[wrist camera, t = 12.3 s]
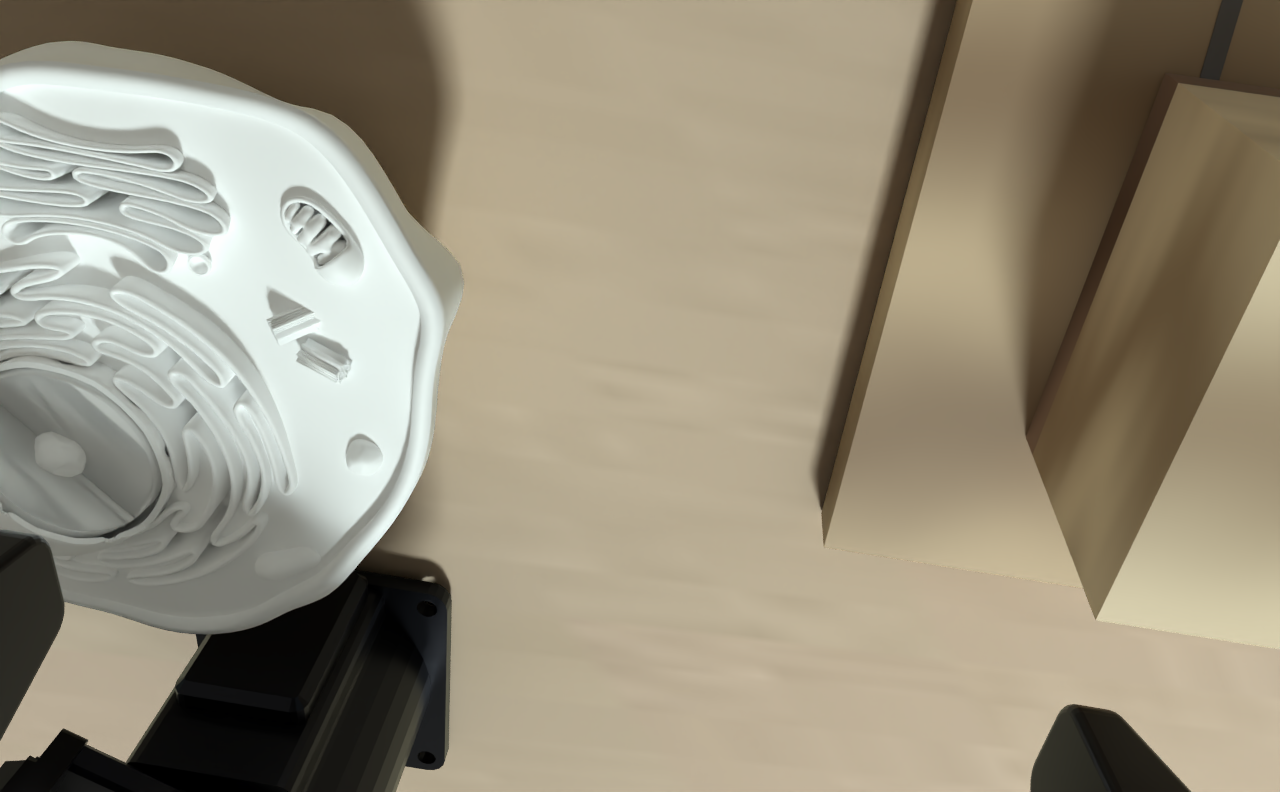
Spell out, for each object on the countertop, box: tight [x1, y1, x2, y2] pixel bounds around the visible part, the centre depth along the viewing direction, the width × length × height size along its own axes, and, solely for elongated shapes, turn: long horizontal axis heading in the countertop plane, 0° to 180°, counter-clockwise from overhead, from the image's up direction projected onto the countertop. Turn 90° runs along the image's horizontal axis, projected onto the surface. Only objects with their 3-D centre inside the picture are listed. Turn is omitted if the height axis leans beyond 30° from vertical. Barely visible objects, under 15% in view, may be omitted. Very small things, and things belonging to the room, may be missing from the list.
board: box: [821, 0, 1280, 588], centre depth 17 cm, size 18×11×1 cm, turn 173°
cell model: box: [0, 41, 464, 634], centre depth 18 cm, size 10×12×7 cm
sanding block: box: [1026, 73, 1280, 649], centre depth 16 cm, size 7×4×5 cm, turn 173°
